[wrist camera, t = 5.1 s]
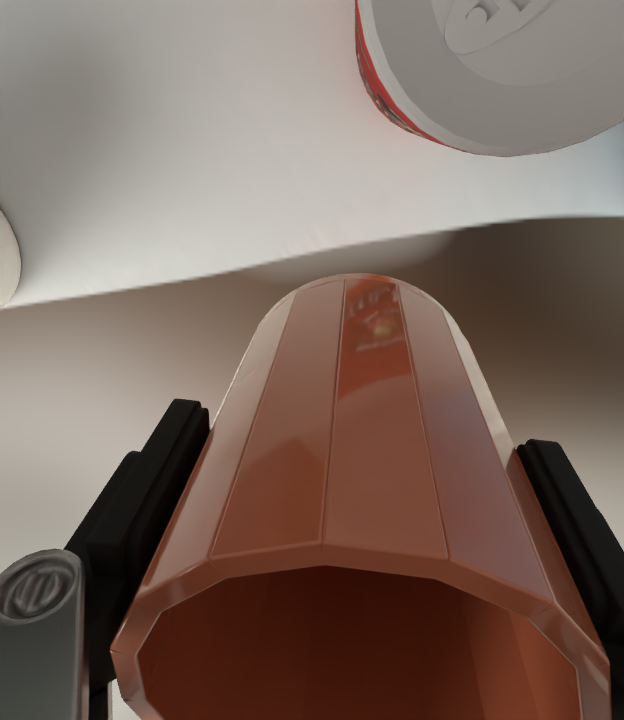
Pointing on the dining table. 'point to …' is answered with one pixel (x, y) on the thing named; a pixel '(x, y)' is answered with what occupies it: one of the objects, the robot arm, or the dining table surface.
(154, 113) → the dining table surface
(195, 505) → the terracotta cup
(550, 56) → the canned food
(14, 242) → the cup
